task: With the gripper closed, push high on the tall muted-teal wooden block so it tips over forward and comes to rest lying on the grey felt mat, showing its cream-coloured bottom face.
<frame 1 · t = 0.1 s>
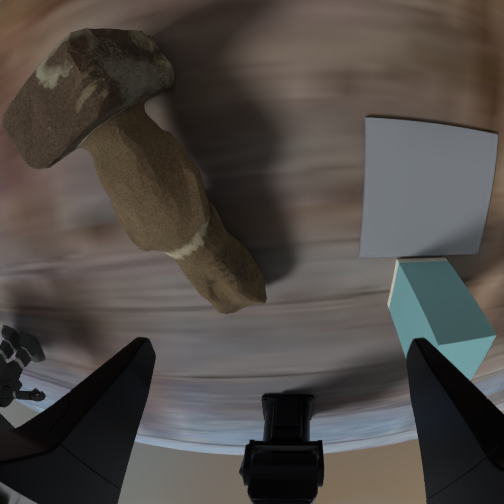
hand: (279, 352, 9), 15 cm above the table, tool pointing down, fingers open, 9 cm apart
teal block: (416, 281, 24), on the table
sculpture: (187, 178, 22), on the table
felt mat: (433, 192, 20), on the table
toy robot: (24, 341, 38), on the table
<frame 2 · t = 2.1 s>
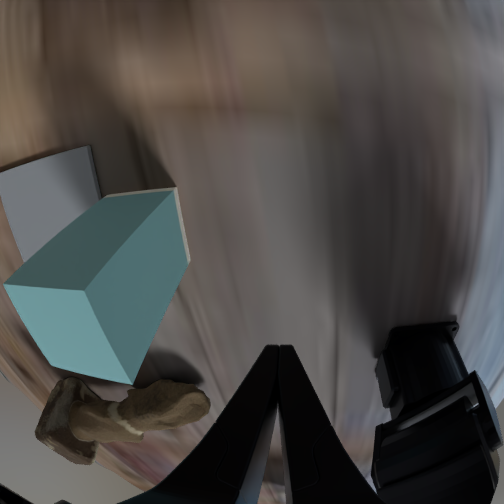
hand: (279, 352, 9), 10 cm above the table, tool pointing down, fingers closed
teal block: (148, 227, 19), on the table
sculpture: (128, 386, 30), on the table
felt mat: (56, 233, 20), on the table
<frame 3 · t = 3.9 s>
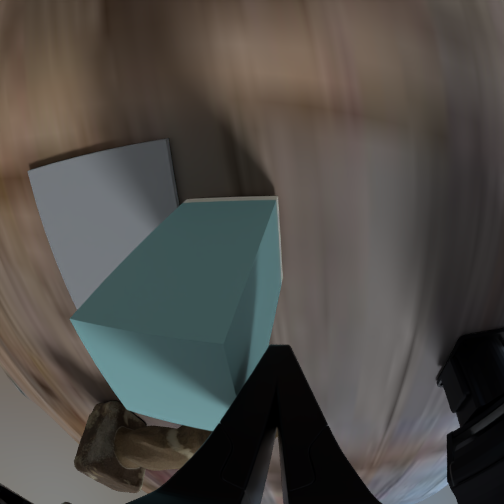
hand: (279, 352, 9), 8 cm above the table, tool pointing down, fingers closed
teal block: (235, 239, 17), on the table, tilted 5°, touching gripper
sculpture: (181, 410, 29), on the table
felt mat: (109, 242, 18), on the table
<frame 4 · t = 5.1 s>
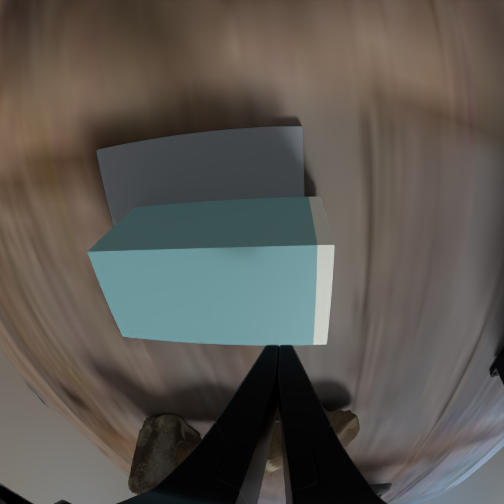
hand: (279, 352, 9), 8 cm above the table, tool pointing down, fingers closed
teal block: (325, 266, 14), point 3 cm above the table, tilted 90°, touching felt mat
sculpture: (246, 419, 28), on the table
felt mat: (205, 239, 17), on the table
toy robot: (369, 489, 41), on the table
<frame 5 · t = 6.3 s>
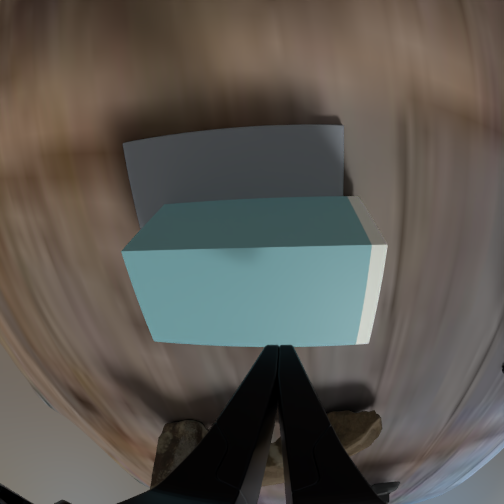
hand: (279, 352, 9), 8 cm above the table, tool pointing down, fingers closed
teal block: (365, 266, 13), point 3 cm above the table, tilted 90°, touching felt mat
sculpture: (268, 423, 27), on the table
felt mat: (238, 239, 17), on the table
toy robot: (377, 488, 41), on the table
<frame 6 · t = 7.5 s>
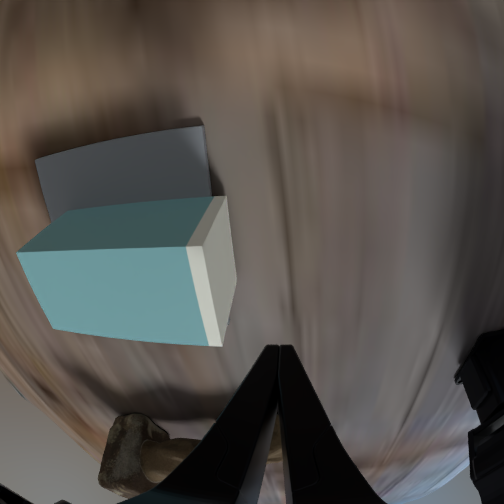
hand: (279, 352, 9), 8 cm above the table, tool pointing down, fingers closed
teal block: (223, 267, 14), point 3 cm above the table, tilted 90°, touching felt mat
sculpture: (208, 421, 28), on the table
felt mat: (128, 240, 17), on the table
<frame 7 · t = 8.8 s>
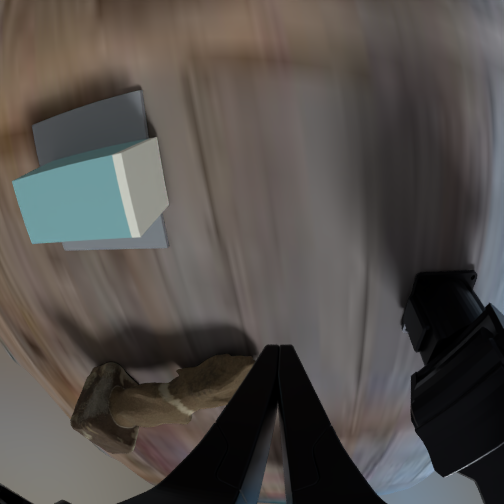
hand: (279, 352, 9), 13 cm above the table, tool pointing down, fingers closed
teal block: (148, 182, 18), point 3 cm above the table, tilted 90°, touching felt mat
sculpture: (173, 368, 32), on the table
felt mat: (94, 180, 21), on the table
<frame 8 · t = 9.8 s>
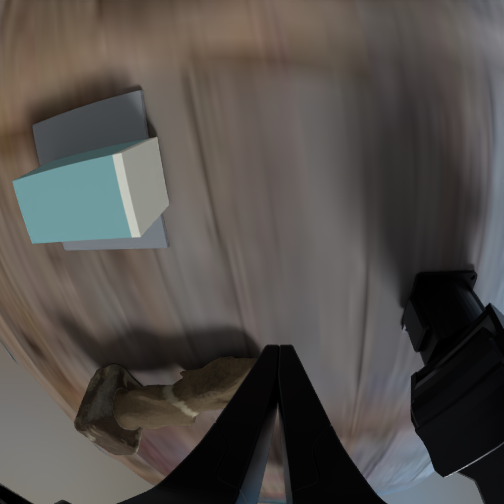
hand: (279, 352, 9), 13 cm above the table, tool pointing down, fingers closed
teal block: (148, 182, 18), point 3 cm above the table, tilted 90°, touching felt mat
sculpture: (177, 370, 32), on the table
felt mat: (94, 180, 21), on the table
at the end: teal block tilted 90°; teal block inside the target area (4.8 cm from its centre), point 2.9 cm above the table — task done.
